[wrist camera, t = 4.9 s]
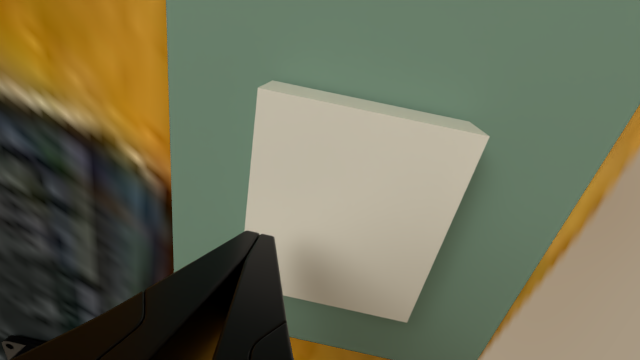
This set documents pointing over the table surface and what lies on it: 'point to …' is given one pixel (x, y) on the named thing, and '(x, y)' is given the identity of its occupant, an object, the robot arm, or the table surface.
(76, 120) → the table surface
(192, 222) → the mat
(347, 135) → the block
